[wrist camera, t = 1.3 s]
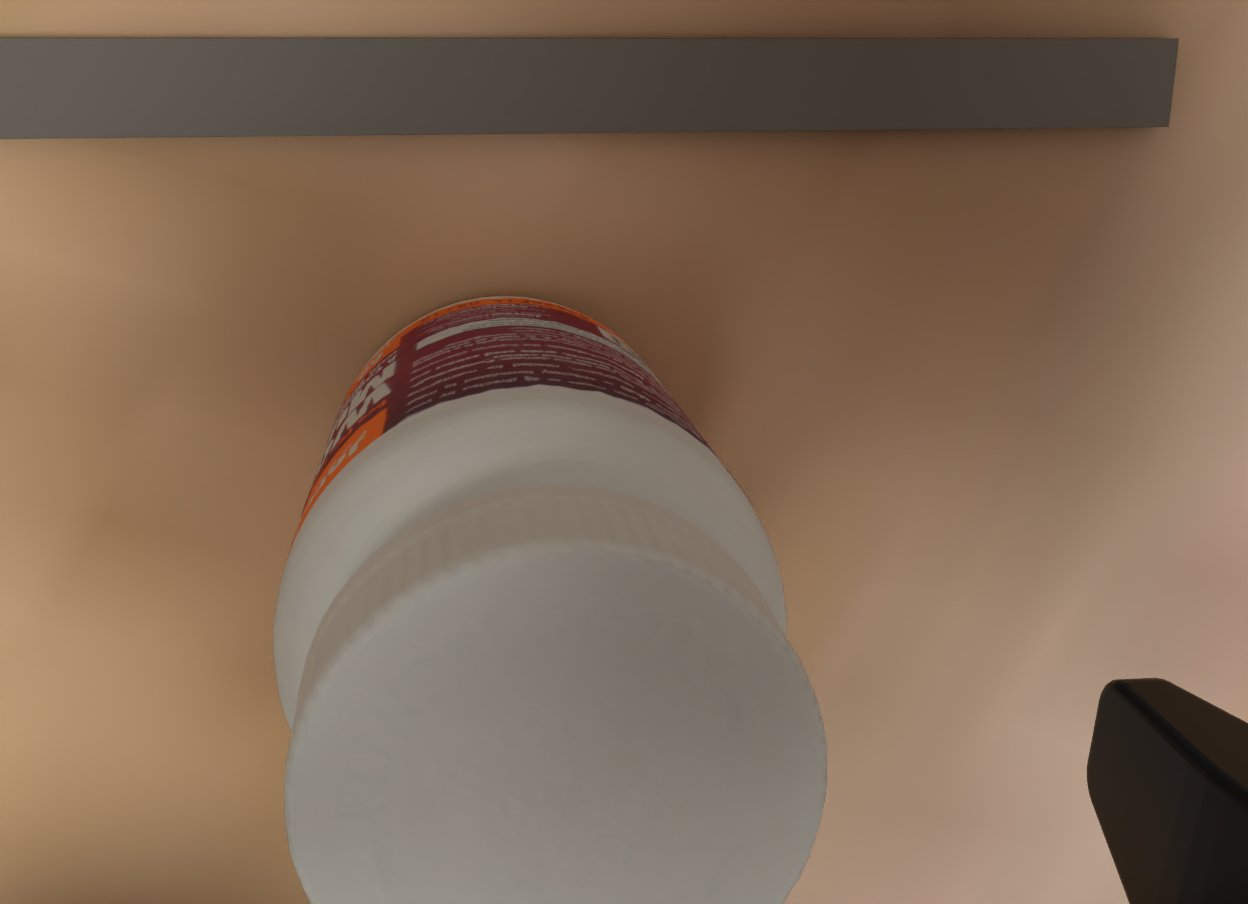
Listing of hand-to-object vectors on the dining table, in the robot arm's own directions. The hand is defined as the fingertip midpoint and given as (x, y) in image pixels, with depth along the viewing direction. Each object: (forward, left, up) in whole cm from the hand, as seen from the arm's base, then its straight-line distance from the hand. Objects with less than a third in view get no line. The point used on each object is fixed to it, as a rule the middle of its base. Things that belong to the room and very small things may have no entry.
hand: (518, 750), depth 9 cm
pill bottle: (-1, 0, -13) cm, 13 cm away
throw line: (+5, 0, -13) cm, 14 cm away
